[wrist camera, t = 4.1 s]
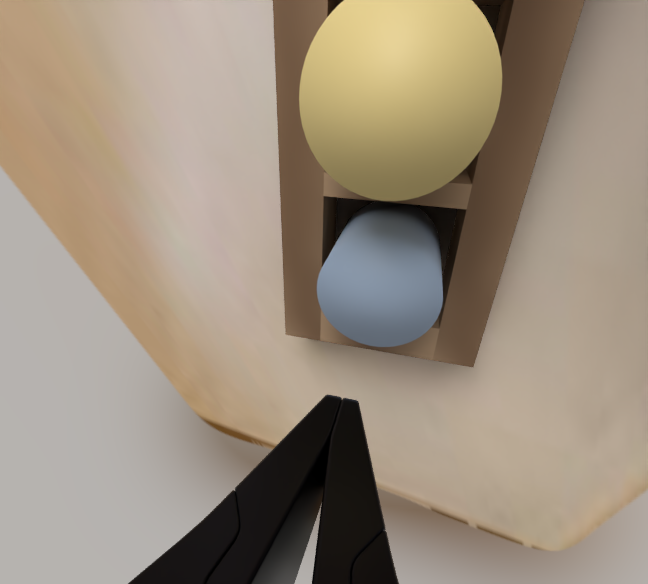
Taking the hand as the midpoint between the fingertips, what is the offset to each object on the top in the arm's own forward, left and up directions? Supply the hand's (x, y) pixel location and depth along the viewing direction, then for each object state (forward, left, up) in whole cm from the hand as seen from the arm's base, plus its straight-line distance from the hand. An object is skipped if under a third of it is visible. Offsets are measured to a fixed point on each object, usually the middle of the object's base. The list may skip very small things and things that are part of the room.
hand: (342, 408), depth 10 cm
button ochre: (0, -7, -9) cm, 11 cm away
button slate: (0, 0, -11) cm, 11 cm away
